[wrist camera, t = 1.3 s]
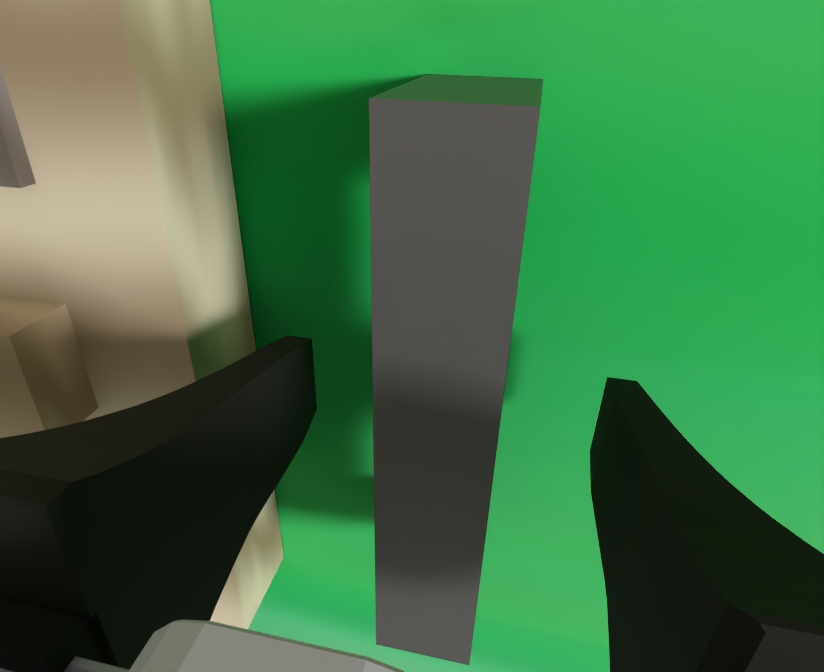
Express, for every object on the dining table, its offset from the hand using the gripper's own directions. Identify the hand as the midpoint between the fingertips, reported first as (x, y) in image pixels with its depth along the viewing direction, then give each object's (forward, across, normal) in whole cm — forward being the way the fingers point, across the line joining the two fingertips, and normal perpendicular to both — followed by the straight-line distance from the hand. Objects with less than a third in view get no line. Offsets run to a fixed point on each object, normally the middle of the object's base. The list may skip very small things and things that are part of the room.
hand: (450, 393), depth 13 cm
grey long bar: (+2, 0, 0) cm, 2 cm away
